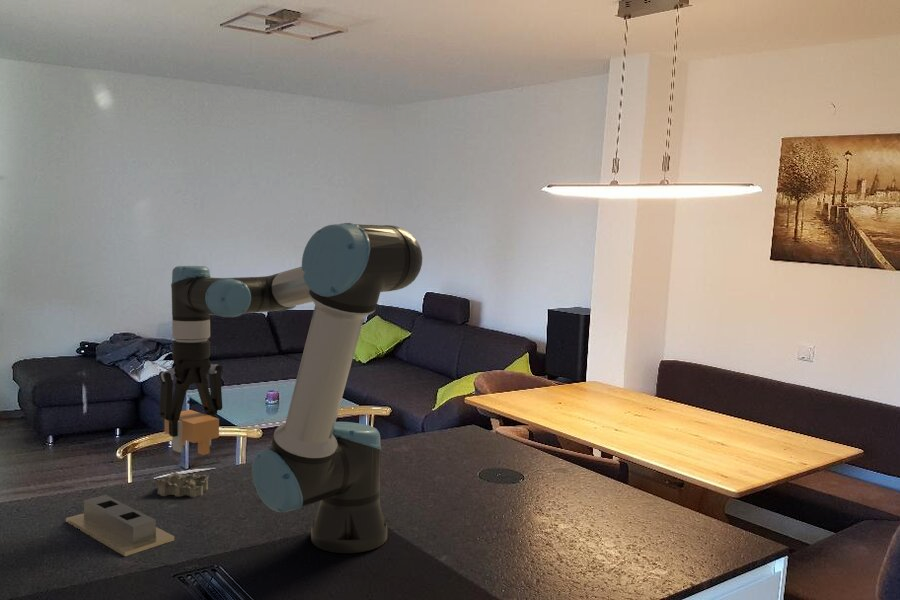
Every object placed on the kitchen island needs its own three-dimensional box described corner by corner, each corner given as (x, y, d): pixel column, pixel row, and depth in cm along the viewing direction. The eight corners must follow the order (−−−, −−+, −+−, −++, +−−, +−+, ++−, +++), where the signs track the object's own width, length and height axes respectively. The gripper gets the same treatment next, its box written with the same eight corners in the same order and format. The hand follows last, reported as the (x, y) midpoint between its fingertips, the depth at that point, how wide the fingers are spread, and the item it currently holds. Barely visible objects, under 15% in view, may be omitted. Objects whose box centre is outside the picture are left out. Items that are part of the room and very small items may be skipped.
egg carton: (153, 497, 169) (152, 479, 169) (168, 486, 177) (167, 469, 176) (198, 499, 168) (198, 481, 168) (211, 488, 176) (211, 471, 176)
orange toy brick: (219, 451, 157) (219, 418, 157) (193, 457, 153) (193, 423, 152) (189, 440, 164) (189, 409, 164) (164, 446, 160) (164, 414, 159)
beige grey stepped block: (174, 540, 146) (174, 518, 145) (124, 556, 138) (124, 534, 138) (113, 508, 161) (113, 489, 160) (66, 521, 153) (65, 501, 153)
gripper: (220, 333, 166) (220, 435, 168) (138, 342, 151) (140, 453, 153) (240, 337, 161) (240, 442, 163) (158, 346, 147) (159, 461, 149)
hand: (192, 447), depth 158 cm, fingers closed on orange toy brick, 6 cm apart
